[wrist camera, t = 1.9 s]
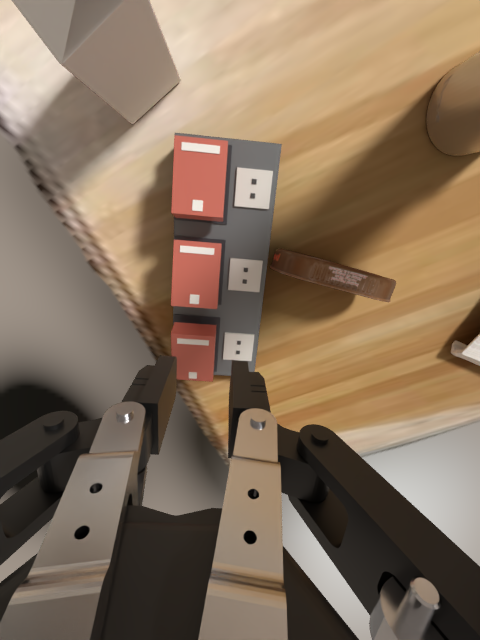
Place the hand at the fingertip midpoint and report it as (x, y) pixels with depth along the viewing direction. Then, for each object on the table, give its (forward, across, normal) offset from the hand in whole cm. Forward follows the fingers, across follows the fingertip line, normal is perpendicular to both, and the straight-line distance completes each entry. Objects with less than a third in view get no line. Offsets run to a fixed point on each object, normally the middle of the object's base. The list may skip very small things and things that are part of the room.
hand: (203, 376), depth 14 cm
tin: (+27, -14, -1) cm, 31 cm away
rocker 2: (+21, +2, 0) cm, 21 cm away
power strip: (+27, 0, 0) cm, 27 cm away
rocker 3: (+21, +2, +10) cm, 23 cm away
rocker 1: (+21, +2, -10) cm, 23 cm away
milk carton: (+27, +10, -20) cm, 35 cm away
